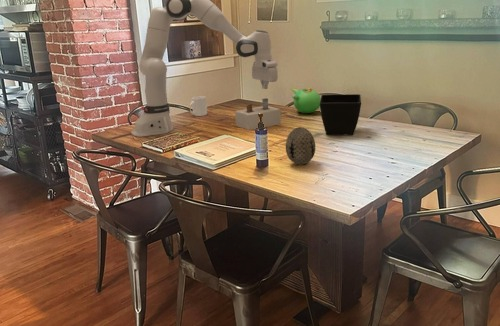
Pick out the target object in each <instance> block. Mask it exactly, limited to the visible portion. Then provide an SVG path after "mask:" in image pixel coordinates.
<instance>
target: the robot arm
mask: <svg viewBox="0 0 500 326" xmlns="http://www.w3.org/2000/svg"><path fill="white" fill-rule="evenodd" d="M189 15H191V16H194V17H195V18H196V19H197V20H198V21H200V22H201V23H202V24H203V25H205V26H206V27H208V28H209V29H211V30H214V31H218V32H221V33H222V34H223V35H225V36H226V37H227V38H228V39H230V41H231V42H233V43H234V44H235V50H236V53H237V54H238V55H239V56H240V57H242V58H249V57H252V56H253V57H254V62H253V64H252V67H251V78H252V79H254V80H259V81H260V84H261V88H262V89H263V90H268V88H269V87H268V86H269V82H270V83H273V82H277V81H278V77H279V76H278V75H279V74H278V68H277V67H278V62H277V61H276V60H274V58H273V57H272V52H271V51H272V50H271V49H272V41H271V35H270V33H269V32H267V31H266V30H254V31H253V32H252V33H250V34H249V35H246V34H244V33H243V32H241V31H240V30H239V29H237V28H236V27H235V26H234V25H233V24H232V23H231V22H230V21H229V20H228V18H227V17H226V16H225V14H224V13H223V12H222V10H221V9H220V8H219V7H218V6H217V5H216V4H215V3H214V2H213V1H211V0H166V3H165V7H162V6H157V7H154V8H153V9H151V11H150V14H149V18H148V20H147V21H148V22H147V29H146V35H145V41H144V46H143V49H142V53H141V57H140V62H139V71H140V73H141V74H142V75H143V76H144V79H145V80H144V81H145V82H144V83H145V87H144V88H145V89H144V94H145V102H146V105H145V106H144V105H141V106H140V109H141V111H143V113H142V115H140V116H139V117H138V118H137V120H135V123H134V129H133V130H131V132H130V133H131V135H132V136H134V137H138V138H139V137H141V138H143V137H149V136H156V135H164V134H168V133H169V132H172V131H173V130H174V129H175V128H174V126H173V122H172V119H171V116H170V106H169V105H170V104H169V101H168V96H167V72H168V68H167V65H166V63H165V62H164V61H163V58H164V55H165V52H166V50H167V48H168V42H169V41H168V40H169V35H170V28H171V23H172V22H176V21H183V20H186V18H188V16H189Z"/></svg>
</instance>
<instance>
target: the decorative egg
mask: <svg viewBox="0 0 500 326" xmlns="http://www.w3.org/2000/svg"><path fill="white" fill-rule="evenodd" d="M285 140H286V141H285V152H286V155H287V157H288V159H289V160H290V161H291V162H292V163H294V164H295V165H306V164H308V163H309V162H310V161H312V159H313V158H314V156H315V154H316V141H315V138H314V135H313V134H312V132H311V131H310V130H309V129H307V128H306V127H304V126H303V127H302V126H300V127H299V126H298V127H296V128H294V129H292V130H291V131H290V132H289V133H288V135H287V138H286V139H285Z"/></svg>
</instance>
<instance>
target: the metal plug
mask: <svg viewBox="0 0 500 326" xmlns="http://www.w3.org/2000/svg"><path fill="white" fill-rule="evenodd" d="M262 106H263V110H266V109H268V106H269V99H268V97H267V98H265V97H264V98H262Z"/></svg>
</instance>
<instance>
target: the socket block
mask: <svg viewBox="0 0 500 326" xmlns="http://www.w3.org/2000/svg"><path fill="white" fill-rule="evenodd" d="M259 113H261V114H263V117H262V122H263V123H264V125H265V127H264V128H266V127H267V128H268V127H273V126H277V125H282V114H281V108H277V107H274V106H270V105H268V109H266V110H263V105H261V106H257V107H252V112H250V113H247V108H244V109H240V110H239V109H238V110H235V111H234V114H235V116H234V118H235V125H236V127H240V128H241V129H244V130H246V131H253V130H257V129H256V128H257V125H258V123H259V117H258V114H259Z"/></svg>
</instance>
